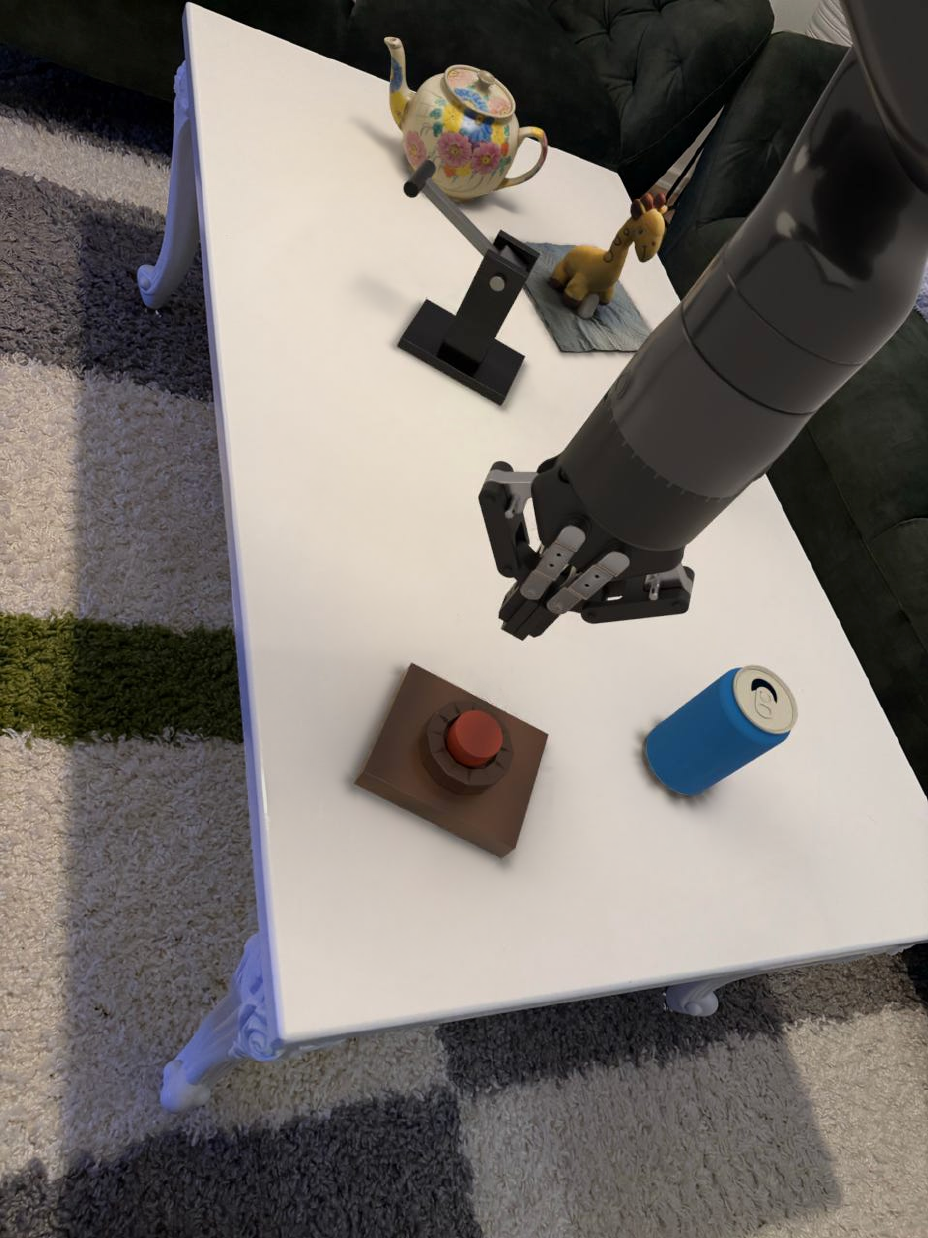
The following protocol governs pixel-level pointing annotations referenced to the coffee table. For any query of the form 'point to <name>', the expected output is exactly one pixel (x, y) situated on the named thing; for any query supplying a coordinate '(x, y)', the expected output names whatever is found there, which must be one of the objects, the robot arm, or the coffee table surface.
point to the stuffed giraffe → (596, 284)
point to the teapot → (460, 128)
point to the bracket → (475, 325)
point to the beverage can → (722, 729)
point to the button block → (452, 763)
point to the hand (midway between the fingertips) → (514, 624)
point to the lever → (453, 211)
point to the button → (474, 738)
